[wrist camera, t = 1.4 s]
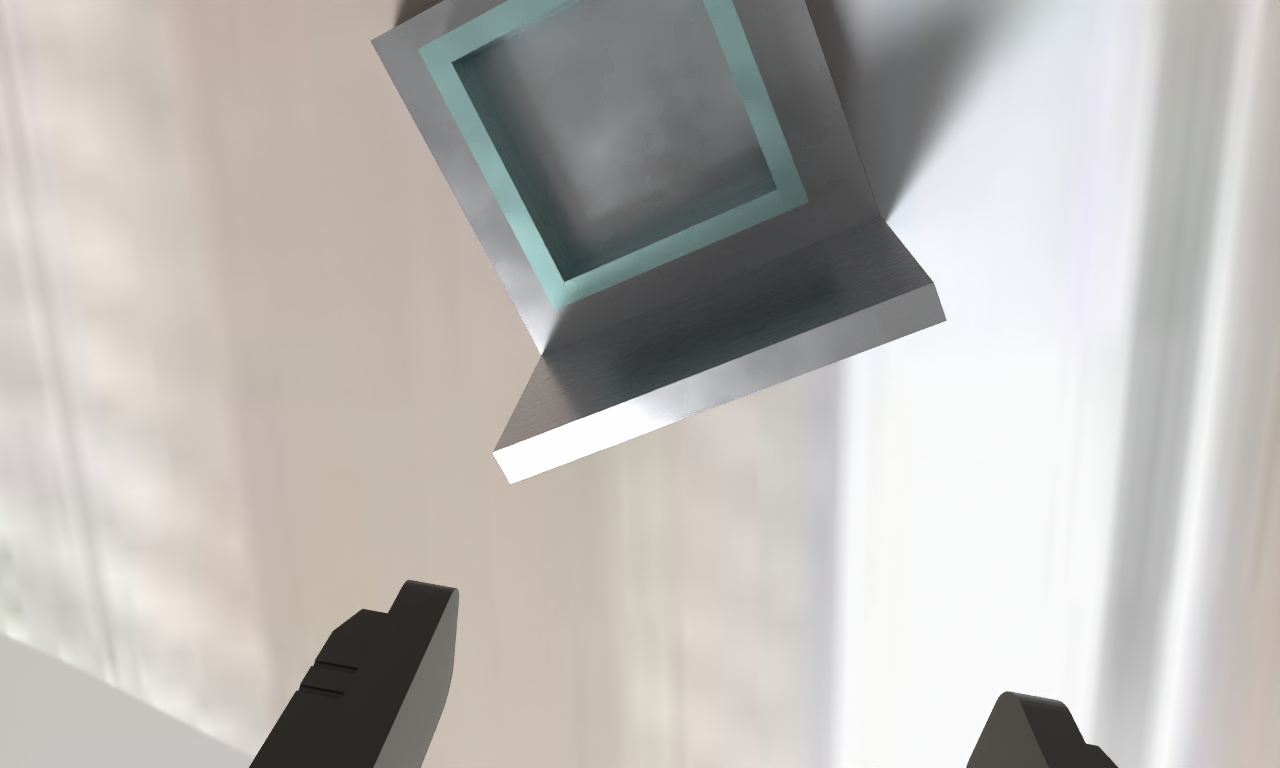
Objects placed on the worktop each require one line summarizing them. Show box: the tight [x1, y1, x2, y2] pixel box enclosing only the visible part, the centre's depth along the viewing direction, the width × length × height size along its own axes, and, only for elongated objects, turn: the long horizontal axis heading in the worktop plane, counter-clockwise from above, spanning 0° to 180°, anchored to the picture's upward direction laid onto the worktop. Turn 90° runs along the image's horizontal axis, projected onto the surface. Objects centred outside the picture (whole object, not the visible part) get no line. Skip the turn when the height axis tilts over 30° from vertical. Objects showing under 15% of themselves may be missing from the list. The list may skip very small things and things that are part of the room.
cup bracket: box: [371, 0, 947, 483], centre depth 27 cm, size 14×14×10 cm
